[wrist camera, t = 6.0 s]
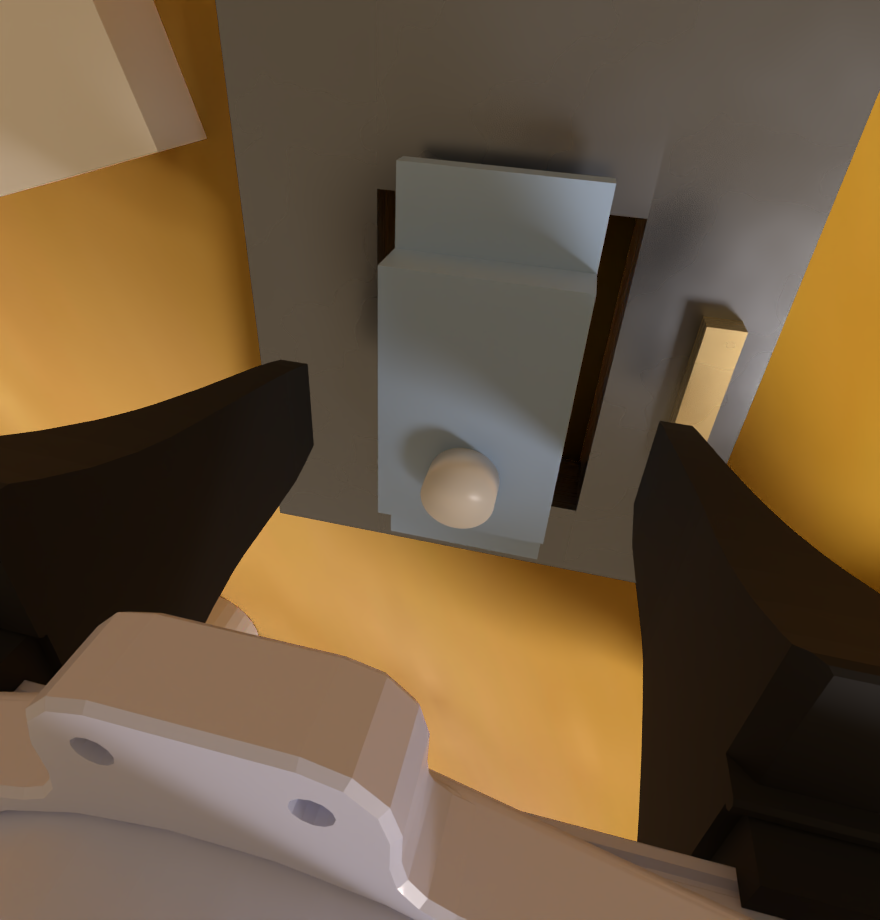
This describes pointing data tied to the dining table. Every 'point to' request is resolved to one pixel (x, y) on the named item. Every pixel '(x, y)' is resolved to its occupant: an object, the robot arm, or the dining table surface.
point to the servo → (483, 346)
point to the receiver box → (86, 89)
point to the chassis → (558, 150)
